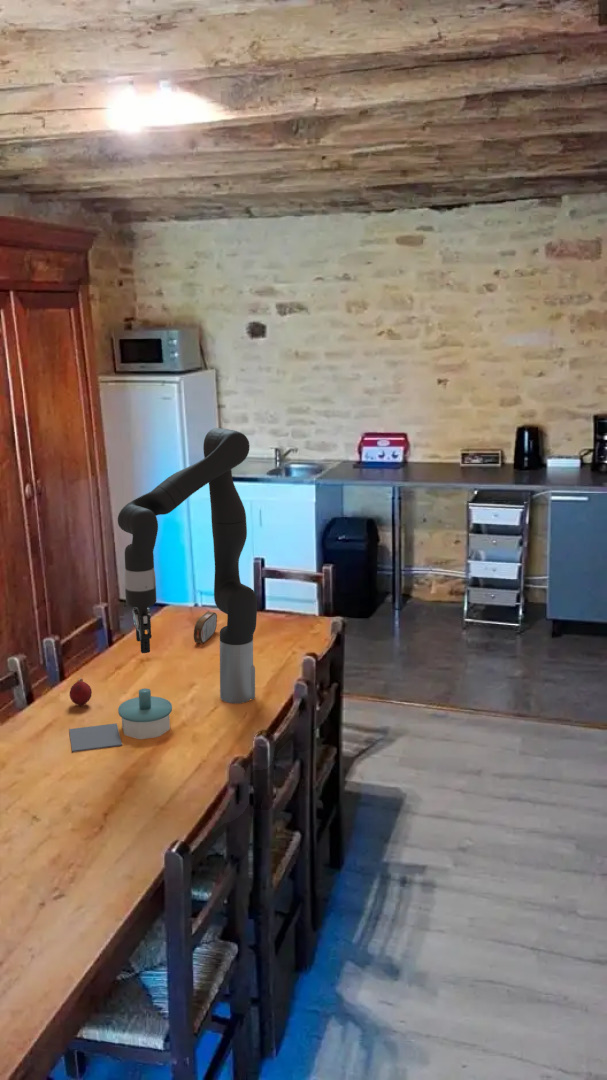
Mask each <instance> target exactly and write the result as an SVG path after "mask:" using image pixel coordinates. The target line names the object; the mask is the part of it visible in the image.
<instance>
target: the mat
mask: <svg viewBox="0 0 607 1080" xmlns="http://www.w3.org/2000/svg"><path fill="white" fill-rule="evenodd" d="M68 731H69V737H70V739H69V740H70V746H71V752H72V753H77V752H86V751H93V750H101V749H106V748H107V749H108V748H113V747H115V748H116V747H121V746H123V743H122V740H121V739H122V738H121V735H120V731H119V727H118V723H115V722H114V723H108V724H100V725H93V726H92V725H90V726H84V727H76V728H69V729H68Z"/></svg>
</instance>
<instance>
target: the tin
mask: <svg viewBox="0 0 607 1080" xmlns="http://www.w3.org/2000/svg"><path fill="white" fill-rule="evenodd" d="M217 626H218V614H217V613H216V612H214V611H210V610H208V611H206V612H204V613H203V614H202V615H201V616H200V617H199V618H198V619H197V620H196V622H195V624H194V629H193V641H194V642H195V643H197V644H205V643H206V642H207V641H208V640H210V639H211V638H212V636H214V634H215V632H216V630H217Z"/></svg>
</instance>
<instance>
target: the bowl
mask: <svg viewBox="0 0 607 1080" xmlns="http://www.w3.org/2000/svg"><path fill="white" fill-rule="evenodd" d="M170 720H171V719H170V714H169V715H168V716H166V717H164V718H162V719H159V720H156V721H150V722H133V721H128V720H125V719H123V718H122V717H121V727H122V732H123V735H124V736H127V737H130V738H134V739H137V740H145V739H152V738H159V737H161V736H162V735H164V734H165V733H166V732H168V731H169V730H170V729H171V727H170V725H171V724H170V722H171V721H170Z"/></svg>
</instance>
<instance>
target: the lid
mask: <svg viewBox="0 0 607 1080" xmlns="http://www.w3.org/2000/svg"><path fill="white" fill-rule="evenodd" d="M151 692H152V691H151V689H150V688H145V687H144V688H141V689H139V690H138V696H137V697H133V698H130V699H127V700H124V702H122V703H120V705H119V706H118V708H117V712H118V715H119V717H121V719H122V718H123V719H125V720H128V721H133V722H150V721H156V720H159V719H162V718H164V717H166V716H168V715H169V716H170V714H171V713H172V711H173V710H172V709H173V705H172V703H171V702H170V701H169V700H168V699H166V698H164V697H159V696H153V695H152V694H151Z"/></svg>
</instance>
